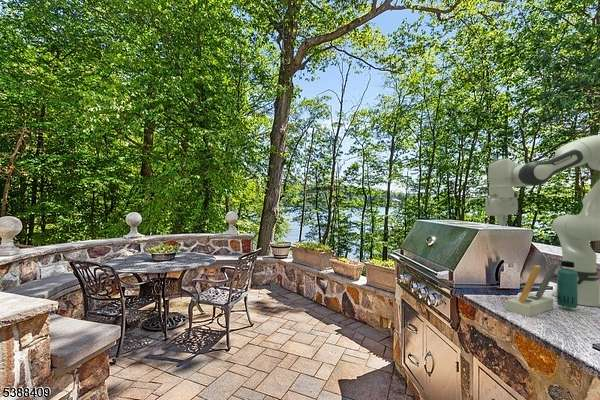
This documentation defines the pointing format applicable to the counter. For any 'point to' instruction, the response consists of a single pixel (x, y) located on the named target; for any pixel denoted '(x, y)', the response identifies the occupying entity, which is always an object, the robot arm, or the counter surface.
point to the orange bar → (529, 283)
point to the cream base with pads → (529, 305)
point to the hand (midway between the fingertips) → (502, 225)
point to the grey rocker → (546, 279)
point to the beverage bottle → (567, 286)
